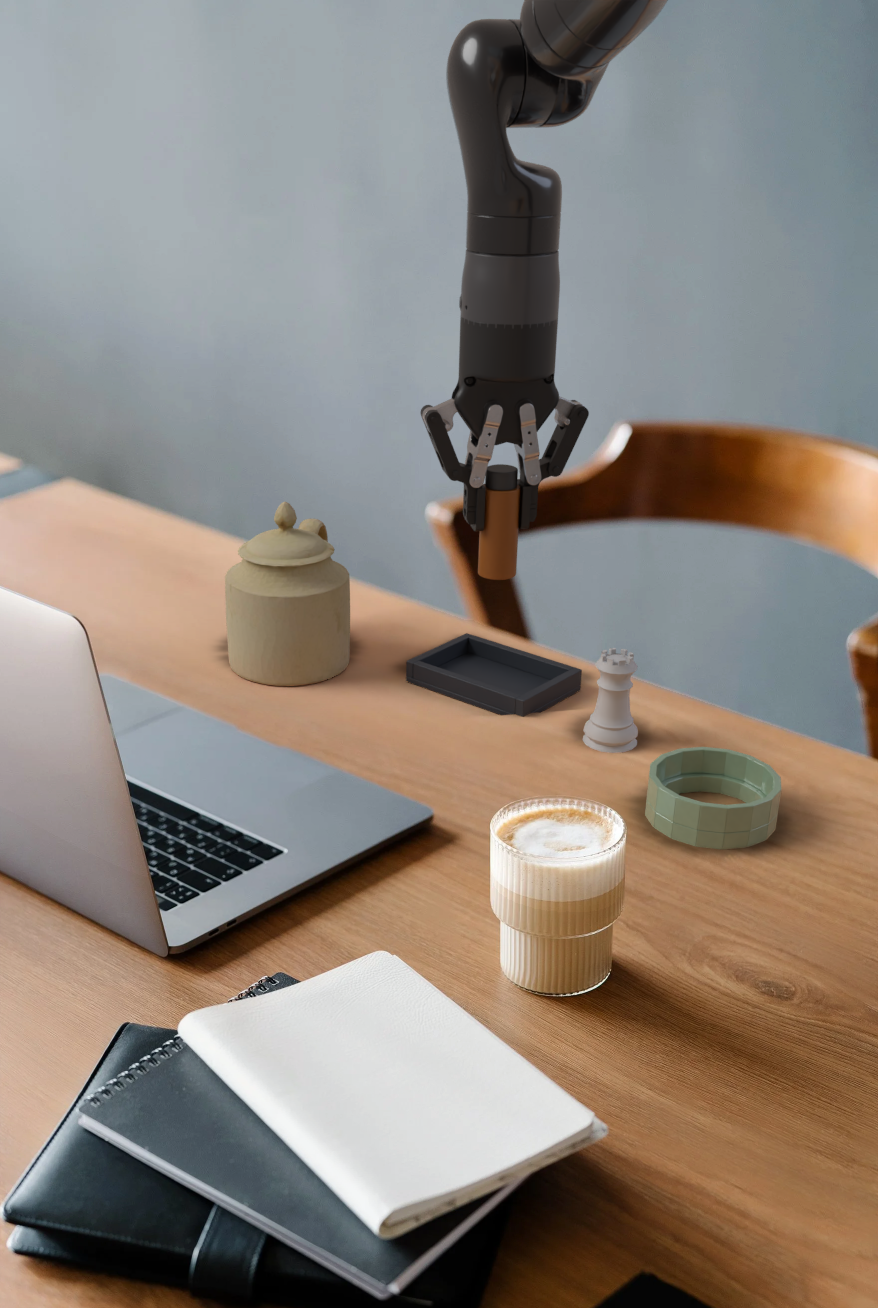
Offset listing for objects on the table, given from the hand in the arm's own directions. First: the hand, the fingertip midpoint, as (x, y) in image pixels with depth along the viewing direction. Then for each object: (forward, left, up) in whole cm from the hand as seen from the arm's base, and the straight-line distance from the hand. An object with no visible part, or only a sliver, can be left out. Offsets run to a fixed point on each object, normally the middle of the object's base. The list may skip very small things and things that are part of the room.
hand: (499, 526), depth 115 cm
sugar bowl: (+17, -10, -15) cm, 25 cm away
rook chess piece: (-6, +13, -15) cm, 21 cm away
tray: (0, 0, -15) cm, 15 cm away
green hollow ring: (-9, +27, -15) cm, 32 cm away
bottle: (0, 0, -4) cm, 4 cm away
